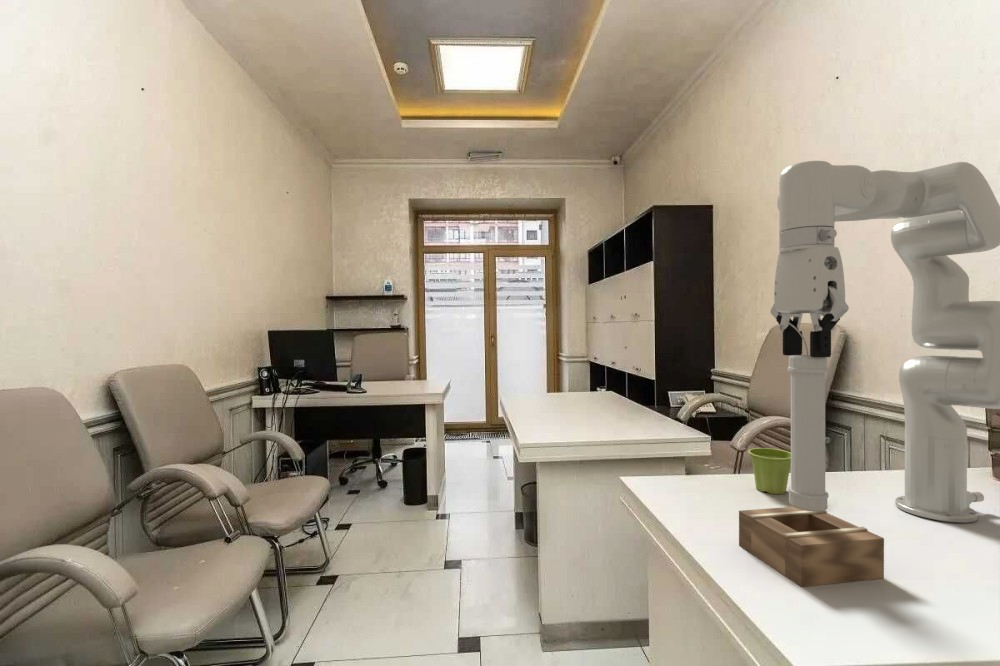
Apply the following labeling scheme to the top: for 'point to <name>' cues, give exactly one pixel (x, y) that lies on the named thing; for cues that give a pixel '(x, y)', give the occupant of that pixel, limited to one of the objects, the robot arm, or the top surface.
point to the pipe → (807, 432)
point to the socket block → (811, 545)
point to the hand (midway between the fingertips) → (806, 354)
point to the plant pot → (771, 469)
